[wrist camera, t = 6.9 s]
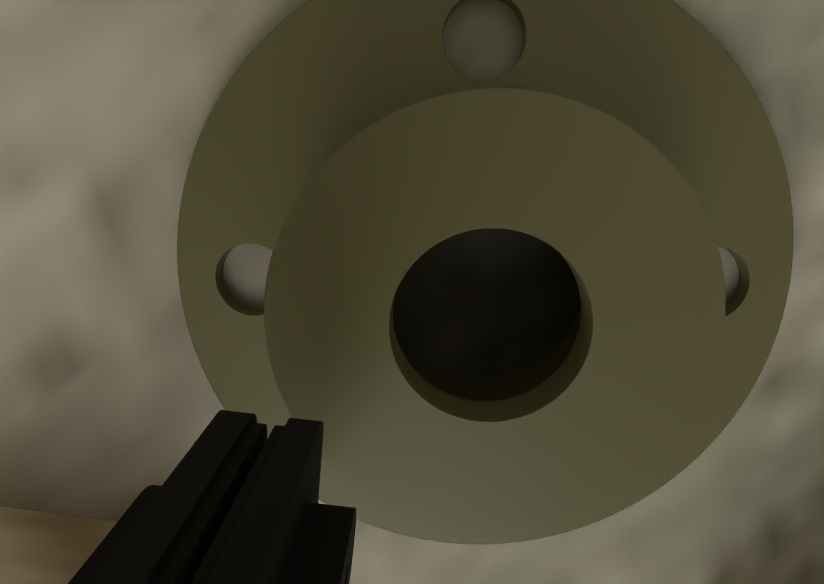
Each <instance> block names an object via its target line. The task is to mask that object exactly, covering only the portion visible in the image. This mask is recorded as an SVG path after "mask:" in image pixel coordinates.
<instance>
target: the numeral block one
mask: <svg viewBox="0 0 824 584" xmlns="http://www.w3.org/2000/svg"><path fill="white" fill-rule="evenodd" d="M116 523H117V521H110V520H102V519H94V518H87V517H79V516H71V515H64V514H56V513H48V512H41V511H33V510H25V509H18V508H10V507H2V506H0V584H68V583H69V581H70V580H71V579H72V578H73V576H74V575H75V574H76V573H77V572H78V570H79V569H80V568H81V567H82V565H83V564H84V563H85V562H86V560H87V559H88V558H89V557H90V555H91V554H92V553H93V552H94V550H95V549H96V548H97V547H98V545H99V544H100V543H101V542H102V540H103V539H104V538H105V537H106V536H107V534H108V533H109V532H110V531H111V529H112V528H113V527H114V526H115V524H116Z"/></svg>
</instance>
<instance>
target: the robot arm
mask: <svg viewBox="0 0 824 584" xmlns="http://www.w3.org/2000/svg"><path fill="white" fill-rule="evenodd" d="M323 430H324V426H323V421H315V420H307V419H298V418H289V419H288V421H287V423H286V425H285V426H281V425H275V426H274V428H273V429H272V431H271V433H270V435H269V437H268V439H267V425H266V424H263V423H257V417H256V415H255V414H253V413H244V412H235V411H226V410H220V411H219V412H218V413H217V414H216V416H215V417H214V418H213V420H212V421H211V422H210V424H209V425H208V426H207V427H206V429H205V430H204V431H203V433H202V434H201V435H200V437H199V438H198V439H197V441H196V442H195V443H194V445H193V446H192V447H191V448H190V450H189V451H188V452H187V454H186V455H185V456H184V458H183V459H182V460H181V462H180V463H179V464H178V466H177V467H176V468H175V469H174V471H173V472H172V473H171V475H170V476H169V477H168V479H167V480H166V481H165V483H164V484H163V485H162V486H158V485H151V486H148V487H146V488H145V489H144V490H143V491H142V492H141V493H140V495H139V496H138V497H137V498H136V500H135V501H134V502H133V503H132V504H131V506H130V507H129V508H128V509H127V511H126V512H125V513H124V514H123V516H122V517H121V518H120V519H119V521H118V522H117V523H116V524H115V526H114V527H113V528H112V529H111V531H110V532H109V533H108V534H107V536H106V537H105V538H104V539H103V540H102V542H101V543H100V544H99V545H98V547H97V548H96V549H95V550H94V552H93V553H92V554H91V555H90V557H89V558H88V559H87V560H86V562H85V563H84V564H83V565H82V567H81V568H80V569H79V570H78V572H77V573H76V574H75V575H74V576H73V578H72V579H71V580H70V581H69V583H68V584H349V580H350V573H351V565H352V556H353V547H354V536H355V526H356V508H354V507H345V506H336V505H327V504H318V499H319V485H320V472H321V459H322V445H323Z"/></svg>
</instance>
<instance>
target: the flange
mask: <svg viewBox="0 0 824 584" xmlns="http://www.w3.org/2000/svg"><path fill="white" fill-rule="evenodd" d="M465 1H467V0H309V1H307V2H306V3H305V4H303V5H302V6H301V7H299V8H298V9H297V10H295V11H294V12H293V13H292V14H290V15H289V16H288V17H287V18H286V19H284V20H283V21H282V22H281V23H280V24H279V25H278V26H276V27H275V28H274V29H273V30H272V31H271V32H270V33H269V34H268V35H267V36H266V37H265V38H264V39H263V40H262V41H261V42H260V43H259V45H258V46H257V47H256V48H255V49H254V50H253V51H252V52H251V53H250V55H249V56H248V57H247V58H246V60H245V61H244V62H243V63H242V65H241V66H240V67H239V68H238V70H237V71H236V73H235V74H234V75H233V77H232V78H231V80H230V81H229V83H228V84H227V85H226V87H225V89H224V90H223V92H222V94H221V95H220V97H219V99H218V100H217V102H216V104H215V106H214V108H213V109H212V111H211V113H210V115H209V117H208V119H207V121H206V123H205V126H204V128H203V130H202V132H201V135H200V137H199V140H198V142H197V145H196V148H195V150H194V153H193V156H192V159H191V163H190V166H189V169H188V173H187V177H186V181H185V185H184V189H183V195H182V201H181V206H180V214H179V223H178V240H177V259H178V275H179V285H180V292H181V299H182V304H183V309H184V314H185V318H186V322H187V326H188V330H189V333H190V336H191V339H192V342H193V345H194V348H195V351H196V353H197V356H198V359H199V361H200V363H201V366H202V368H203V370H204V372H205V374H206V377H207V379H208V381H209V383H210V384H211V386H212V388H213V390H214V392H215V394H216V395H217V397H218V399H219V400H220V402H221V404H222V405H223V407H224V408H225V410H226V411H235V412H244V413H253V414H255V415H256V417H257V423H263V424H266V425H267V439H268V437H269V435H270V433H271V431H272V429H273V428H274V426H275V425H281V426H285V425H286V423H287V421H288V419H289V418H298V419H307V420H315V421H323V426H324V430H323V445H322V459H321V472H320V485H319V500H320V501H322V502H324V503H325V504H327V505H336V506H345V507H354V508H356V519H358V520H360V521H362V522H365V523H368V524H370V525H373V526H375V527H379V528H382V529H385V530H388V531H391V532H395V533H398V534H402V535H406V536H410V537H415V538H420V539H425V540H432V541H438V542H447V543H460V544H499V543H511V542H520V541H527V540H533V539H538V538H543V537H548V536H553V535H556V534H560V533H564V532H568V531H571V530H574V529H577V528H580V527H583V526H586V525H589V524H591V523H594V522H597V521H599V520H602V519H604V518H606V517H608V516H611V515H613V514H615V513H617V512H619V511H621V510H623V509H625V508H627V507H629V506H631V505H633V504H634V503H636V502H638V501H640V500H641V499H643V498H645V497H646V496H648V495H649V494H651V493H653V492H654V491H656V490H657V489H659V488H660V487H661V486H663V485H664V484H666V483H667V482H668V481H670V480H671V479H672V478H674V477H675V476H676V475H677V474H679V473H680V472H681V471H682V470H684V469H685V468H686V467H687V466H688V465H689V464H690V463H692V462H693V461H694V460H695V459H696V458H697V457H698V456H699V455H700V454H701V453H702V452H703V451H704V450H705V449H706V448H707V447H708V446H709V445H710V444H711V443H712V442H713V441H714V440H715V438H716V437H717V436H718V435H719V434H720V433H721V432H722V431H723V429H724V428H725V427H726V425H727V424H728V423H729V422H730V420H731V419H732V418H733V417H734V415H735V414H736V412H737V411H738V409H739V408H740V407H741V405H742V404H743V402H744V401H745V399H746V397H747V396H748V394H749V393H750V391H751V389H752V388H753V386H754V384H755V382H756V380H757V378H758V377H759V375H760V373H761V371H762V369H763V367H764V365H765V362H766V360H767V358H768V356H769V354H770V351H771V349H772V346H773V343H774V341H775V338H776V335H777V332H778V329H779V326H780V323H781V320H782V316H783V312H784V308H785V305H786V300H787V295H788V290H789V284H790V277H791V269H792V257H793V217H792V206H791V198H790V190H789V185H788V180H787V175H786V170H785V167H784V163H783V159H782V155H781V152H780V149H779V146H778V143H777V140H776V137H775V134H774V132H773V129H772V127H771V125H770V122H769V120H768V117H767V115H766V113H765V111H764V109H763V107H762V105H761V103H760V101H759V99H758V97H757V96H756V94H755V92H754V90H753V89H752V87H751V85H750V84H749V82H748V81H747V79H746V78H745V76H744V75H743V73H742V72H741V70H740V69H739V67H738V66H737V64H736V63H735V62H734V61H733V59H732V58H731V57H730V55H729V54H728V53H727V52H726V50H725V49H724V48H723V47H722V46H721V45H720V44H719V43H718V41H717V40H716V39H715V38H714V37H713V36H712V35H711V34H710V33H709V32H708V31H707V30H706V29H705V28H704V27H703V26H702V25H701V24H700V23H699V22H698V21H697V20H696V19H694V18H693V17H692V16H691V15H690V14H688V13H687V12H686V11H685V10H684V9H683V8H681V7H680V6H679V5H677V4H676V3H674V2H673V1H672V0H501V1H503V2H505V3H506V4H508V5H509V6H510V7H511V8H512V9H513V10H514V12H515V13H516V14H517V16H518V18H519V20H520V23H521V25H522V30H523V47H522V51H521V54H520V57H519V59H518V61H517V63H516V64H515V65H514V67H513V68H512V69H511V70H510V71H509V72H508V73H506V74H505V75H503V76H501V77H499V78H497V79H494V80H489V81H476V80H472V79H469V78H467V77H464V76H463V75H461V74H460V73H458V72H457V71H456V70H455V69H454V68H453V67H452V65H451V64H450V63H449V61H448V59H447V57H446V55H445V52H444V49H443V43H442V35H443V30H444V27H445V24H446V21H447V20H448V18H449V16H450V15H451V13H452V12H453V11H454V10H455V9H456V8H457V7H458V6H459V5H460V4H462V3H463V2H465ZM488 228H499V229H509V230H514V231H519V232H523V233H526V234H529V235H532V236H534V237H536V238H538V239H540V240H543V241H544V242H546V243H547V244H549V245H551V246H552V247H554V248H555V249H556V250H557V251H558V252H559V253H560V254H561V255H562V256H563V258H564V259H565V260H566V262H567V263H568V265H569V267H570V269H571V270H572V272H573V274H574V277H575V279H576V282H577V285H578V289H579V293H580V300H581V309H580V311H579V314H578V316H577V318H576V320H575V322H574V323H573V325H572V327H571V329H570V330H569V331H568V333H567V334H566V336H565V337H564V338H563V339H562V340H561V342H560V343H559V344H558V345H557V346H556V347H555V348H554V349H553V350H552V351H551V352H550V353H548V354H547V355H546V356H545V357H543V358H542V359H541V360H539V361H537V362H536V363H534V364H533V365H531V366H529V367H527V368H525V369H523V370H521V371H518V372H516V373H513V374H510V375H507V376H504V377H499V378H494V379H486V380H463V379H456V378H451V377H447V376H443V375H440V374H437V373H434V372H432V371H430V370H427V369H425V368H423V367H421V366H420V365H418V364H416V363H415V362H413V361H412V360H410V359H409V358H408V357H406V356H405V355H404V354H403V352H402V350H401V348H400V346H399V344H398V341H397V338H396V334H395V329H394V324H393V302H394V296H395V293H396V290H397V288H398V286H399V284H400V282H401V280H402V279H403V277H404V275H405V274H406V272H407V271H408V270H409V268H410V267H411V266H412V265H413V263H414V262H415V261H416V260H417V259H418V258H419V257H420V256H422V255H423V254H424V253H425V252H426V251H428V250H429V249H430V248H432V247H433V246H434V245H436V244H438V243H440V242H441V241H443V240H445V239H447V238H450V237H452V236H454V235H457V234H460V233H463V232H467V231H471V230H477V229H488ZM243 243H256V244H260V245H263V246H265V247H268V248H269V249H271V250H272V251H273V253H272V256H271V261H270V265H269V269H268V274H267V281H266V288H265V299H264V310H255V309H250V308H248V307H245V306H243V305H241V304H240V303H238V302H237V301H236V300H235V299H234V298H233V297H232V296H231V295H230V293H229V292H228V290H227V288H226V286H225V284H224V280H223V265H224V261H225V259H226V256H227V255H228V253H229V252H230V251H231V250H232V249H233V248H234V247H235V246H236V245H239V244H243ZM718 247H723V248H725V249H726V250H728V251H729V252H730V253H731V254H732V256H733V257H734V258H735V260H736V262H737V265H738V268H739V282H738V286H737V289H736V291H735V293H734V295H733V296H732V298H731V299H730V300H729V301H728V302H727V303H726V296H725V283H724V274H723V268H722V262H721V258H720V254H719V250H718ZM725 303H726V304H725Z"/></svg>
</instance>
